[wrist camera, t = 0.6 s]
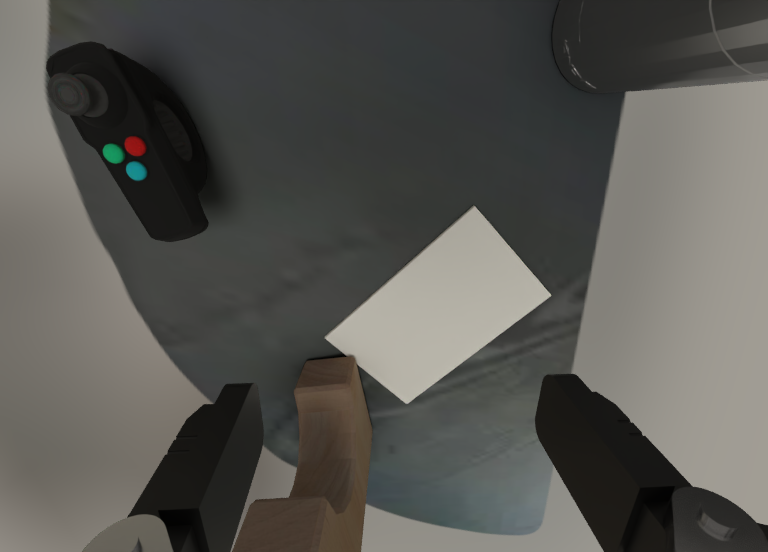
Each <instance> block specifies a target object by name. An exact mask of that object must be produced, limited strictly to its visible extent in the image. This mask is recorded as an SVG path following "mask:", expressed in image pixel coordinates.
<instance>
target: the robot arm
mask: <svg viewBox="0 0 768 552" xmlns="http://www.w3.org/2000/svg"><path fill="white" fill-rule="evenodd" d="M552 43H553V52H554V56H555V60H556V63H557V65H558V67H559V69H560V71H561V73H562V74H563V76H564V77H565V78H566V79H567V80H568V82H569V83H571V84H572V85H574V86H575V87H577V88H578V89H580V90H583V91H586V92H589V93H600V94H601V93H614V92H626V91H641V90H652V89H653V90H654V89H666V88H678V87H690V86H701V85H715V84H728V83H739V82H753V81H765V80H768V0H560V2H559V5H558V8H557V11H556V15H555V18H554V24H553V31H552ZM535 426H536V432H537V435H538V438H539V440H540V442H541V444H542V446H543V447H544V449H545V451H546V453H547V454H548V456H549V458H550V459H551V461H552V463H553V465H554V466H555V468H556V470H557V472H558V473H559V475H560V477H561V478H562V480H563V482H564V484H565V485H566V487H567V488H568V490H569V492H570V494H571V496H572V497H573V499H574V500H575V502H576V504H577V506H578V508H579V509H580V511H581V513H582V514H583V516H584V518H585V520H586V521H587V523H588V525H589V527H590V528H591V530H592V532H593V534H594V535H595V537H596V539H597V540H598V542H599V544H600V546H601V547H602V549H603V551H604V552H768V525H763V524H759V523H756V522H755V521H754V520H753V519H752V518H751V517H750V516H749V515H748V514H747V513H746V512H745V511H743V510H742V509H741V508H739V507H738V506H737V505H736V504H734V503H732V502H731V501H729V500H728V499H726V498H724V497H722V496H720V495H718V494H716V493H714V492H711V491H708V490H705V489H702V488H698V487H693V486H691V484H690V483H689V482H688V481H687V480H686V479H685V478H684V477H683V476H682V475H681V474H680V473H679V472H678V471H677V470H676V468H675V467H674V466H673V465H672V464H671V463H670V462H669V461H668V460H667V459H666V458H665V457H664V456H663V454H662V453H661V452H660V451H659V450H658V449H657V448H656V447H655V446H654V445H653V444H652V443H651V442H650V441H649V440H648V438H647V437H646V436H643V435H642V432H641V431H640V430H639V429H638V428H637V427H636V426H635V425H634V423H631V422H630V419H629V418H628V417H627V416H626V415H625V414H624V413H623V412H622V411H621V410H620V409H619V408H618V406H617V405H616V404H614V403H613V402H611V401H610V400H608V399H606V398H605V397H604V396H602V395H600V394H599V393H597V392H592V391H591V390H590V389H589V388H588V387H587V386H586V385H585V384H584V382H583V381H582V380H581V379H580V378H579V377H578V376H577V375H575V374H552V375H546V376H545V377H544V379H543V382H542V386H541V391H540V396H539V401H538V406H537V411H536V417H535ZM263 436H264V430H263V421H262V414H261V407H260V400H259V393H258V387H257V385H256V383H240V384H226V385H225V386H224V387H223V389H222V391H221V393H220V395H219V397H218V399H217V400H216V402H215V404H204V405H203V406H202V407H200V408H199V409H198V410H197V411H196V412H195V413H193V414H192V415H191V416H190V417H189V418H188V419H187V420H186V421H185V423H184V425H183V426H182V428H181V430H180V432H179V433H178V435H177V436H176V437H177V438H176V440H174V441H173V443H172V445H171V446H170V448H169V450H168V453H167V455H165V456H164V458H163V460H162V461H161V463H160V464H159V466H158V468H157V469H156V471H155V473H154V474H153V476H152V478H151V480H150V481H149V483H148V484H147V486H146V488H145V490H144V491H143V493H142V494H141V496H140V498H139V499H138V501H137V503H136V504H135V506H134V508H133V509H132V511H131V513H130V514H129V515H128V517H127V518H125V519H123V520H120V521H118V522H116V523H114V524H113V525H111V526H110V527H108V528H106V529H105V530H104V531H102V532H101V533H99V534H98V535H97V536H96V537H95V538H94V539H93V540H92V541H91V542H90V543H89V544H88V545H87V546H86V547H85V548H84V550H83V551H82V552H230V551H231V548H232V544H233V541H234V538H235V535H236V532H237V528H238V525H239V522H240V519H241V515H242V512H243V509H244V506H245V502H246V499H247V496H248V493H249V489H250V486H251V483H252V480H253V477H254V473H255V470H256V467H257V464H258V460H259V457H260V454H261V450H262V445H263Z"/></svg>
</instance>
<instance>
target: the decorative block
mask: <svg viewBox="0 0 768 552" xmlns="http://www.w3.org/2000/svg"><path fill="white" fill-rule="evenodd" d="M294 395H295V399H296V404H297V409H298V415H299V434H300V440H299V459H298V467H297V472H296V476H295V481H294V485H293V488H292V491H291V493H290V496H289V498H276V499H259V500H255V501H254V502H253V503H252V504H251V505H250V507H249V509H248V512H247V514H246V517H245V520H244V522H243V525H242V527H241V530H240V532H239V535H238V538H237V540H236V543H235V545H234V548H233V551H232V552H361V545H362V535H363V524H364V514H365V504H366V494H367V483H368V473H369V463H370V452H371V442H372V426H371V422H370V418H369V414H368V410H367V405H366V401H365V397H364V393H363V389H362V384H361V380H360V376H359V372H358V368H357V364H356V360H355V358H353V357H352V356H349V357H339V358H330V359H320V360H311V361H306V363H305V364H304V366H303V369H302V372H301V374H300V377H299V379H298V382H297V385H296V387H295V390H294Z"/></svg>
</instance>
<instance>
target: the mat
mask: <svg viewBox="0 0 768 552" xmlns="http://www.w3.org/2000/svg"><path fill="white" fill-rule="evenodd" d="M550 296H552V295H551V294H550V293H549V292H548V291H547V290H546V288H545V287H544V286H543V285H542V284H541V283H540V281H539V280H538V279H537V278H536V277H535V276H534V274H533V273H532V272H531V271H530V270H529V269H528V267H527V266H526V265H525V264H524V263H523V262H522V260H521V259H520V258H519V257H518V256H517V255H516V253H515V252H514V251H513V250H512V249H511V248H510V246H509V245H508V244H507V243H506V242H505V241H504V239H503V238H502V237H501V236H500V235H499V234H498V232H497V231H496V230H495V229H494V228H493V227H492V225H491V224H490V223H489V222H488V221H487V220H486V218H485V217H484V216H483V215H482V214H481V213H480V212H479V210H478V209H477V208H476V207H475V206H474V205H473V206H472V207H471V208H470V209H469V210H468V211H467V212H465V213H464V214H463V215H462V216H461V217H460V218H459V219H457V220H456V221H455V222H454V223H453V224H452V225H451V226H449V227H448V228H447V229H446V230H445V231H444V232H443V233H442V234H440V235H439V236H438V237H437V238H436V239H435V240H434V241H432V242H431V243H430V244H429V245H428V246H427V247H426V248H424V249H423V250H422V251H421V252H420V253H419V254H418V255H417V256H415V257H414V258H413V259H412V260H411V261H410V262H409V263H407V264H406V265H405V266H404V267H403V268H402V269H401V270H399V271H398V272H397V273H396V274H395V275H394V276H393V277H392V278H390V279H389V280H388V281H387V282H386V283H385V284H384V285H382V286H381V287H380V288H379V289H378V290H377V291H376V292H375V293H373V294H372V295H371V296H370V297H369V298H368V299H367V300H365V301H364V302H363V303H362V304H361V305H360V306H359V307H357V308H356V309H355V310H354V311H353V312H352V313H351V314H350V315H348V316H347V317H346V318H345V319H344V320H343V321H342V322H340V323H339V324H338V325H337V326H336V327H335V328H334V329H332V330H331V331H330V332H329V333H328V334H327V335H326V336H325V339H326V340H328V341H329V342H330V343H331V344H333V345H334V346H335V347H336V348H338V349H339V350H340V351H341V352H343V353H344V354H345V355H346V356H347V357H349V356H352V357H353V358H355V360H356V364H357V365H359V366H360V367H361V368H362V369H364V370H365V371H366V372H367V373H369V374H370V375H371V376H372V377H374V378H375V379H376V380H377V381H379V382H380V383H381V384H382V385H384V386H385V387H386V388H387V389H389V390H390V391H391V392H392V393H393V394H395V395H396V396H397V397H398V398H400V399H401V400H402V401H403V402H405V403H406V404H408V403H409V402H410V401H412V400H413V399H414V398H416V397H417V396H418V395H420V394H421V393H422V392H424V391H425V390H426V389H428V388H429V387H430V386H432V385H433V384H434V383H436V382H437V381H438V380H440V379H441V378H442V377H444V376H445V375H446V374H448V373H449V372H450V371H452V370H453V369H454V368H456V367H457V366H458V365H460V364H461V363H462V362H464V361H465V360H466V359H468V358H469V357H470V356H472V355H473V354H474V353H476V352H477V351H478V350H480V349H481V348H482V347H484V346H485V345H486V344H488V343H489V342H490V341H492V340H493V339H494V338H496V337H497V336H498V335H500V334H501V333H502V332H504V331H505V330H506V329H508V328H509V327H510V326H512V325H513V324H514V323H516V322H517V321H518V320H520V319H521V318H522V317H524V316H525V315H526V314H528V313H529V312H530V311H532V310H533V309H534V308H536V307H537V306H538V305H540V304H541V303H542V302H544V301H545V300H546V299H548V298H549V297H550Z"/></svg>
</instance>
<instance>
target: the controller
mask: <svg viewBox="0 0 768 552" xmlns="http://www.w3.org/2000/svg"><path fill="white" fill-rule="evenodd" d="M46 69H47V72H48V74H49V77H50V80H49V83H48V93H49V96H50V98H51V100H52V102H53V103H54V104H55V106H56V107H57V108H58V109H59V110H61V111H62V112H64V113H66V114H69V115H70V116H71V118H72V120H73V122H74V124H75V126H76V127H77V129H78V131H79V133H80V135H81V136H82V138H83V140H84V141H85V142H86V143H88V144H89V145H90V146H92V147H93V148H95V149H96V151H97V152H98V154H99V155H100V157H101V158H102V160H103V162H104V163H105V165H106V166H107V168H108V170H109V171H110V173H111V174H112V176H113V178H114V179H115V181H116V183H117V184H118V186H119V187H120V189H121V191H122V192H123V194H124V195H125V197H126V199H127V200H128V202H129V203H130V205H131V207H132V208H133V210H134V211H135V213H136V215H137V216H138V218H139V219H140V221H141V223H142V224H143V226H144V227H145V229H146V231H147V232H148V234H149V235H150V237H151V238H153V239H155V240H160V241H165V242H174V241H179V240H183V239H187V238H190V237H192V236H195V235H197V234H200V233H201V232H203V231H205V230H206V229H207V227H208V220H207V218H206V216H205V214H204V211H203V209H202V206H201V204H200V201H199V198H198V193H199V192H200V191H201V190H202V188H203V186H204V185H205V182H206V178H207V167H206V160H205V155H204V151H203V147H202V144H201V141H200V138H199V136H198V134H197V131H196V129H195V127H194V125H193V123H192V121H191V119H190V117H189V116H188V114H187V112H186V111H185V109H184V108H183V106H182V105H181V103H180V102H179V100H178V99H177V98H176V97H175V95H174V94H173V93H172V92H171V91H170V89H169V88H168V87H167V86H166V85H165V84H164V83H163V82H162V81H161V80H160V79H159V78H158V77H157V76H156V75H155V74H154V73H152V72H151V71H150V70H148V69H147V68H145V67H144V66H142V65H141V64H139V63H137V62H135V61H134V60H132V59H130V58H128V57H126V56H125V55H123V54H121V53H119V52H117V51H114V50H113V49H111V48H110V49H107V48H106V47H105V46H104V45H103V44H100V43H96V42H83V43H78V44H76V45H73V46H70V47H68V48H65V49H62V50H60V51H58V52H56V53H55V54H53V55H52V56H50V58H49V59H48V61H47V66H46Z"/></svg>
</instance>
